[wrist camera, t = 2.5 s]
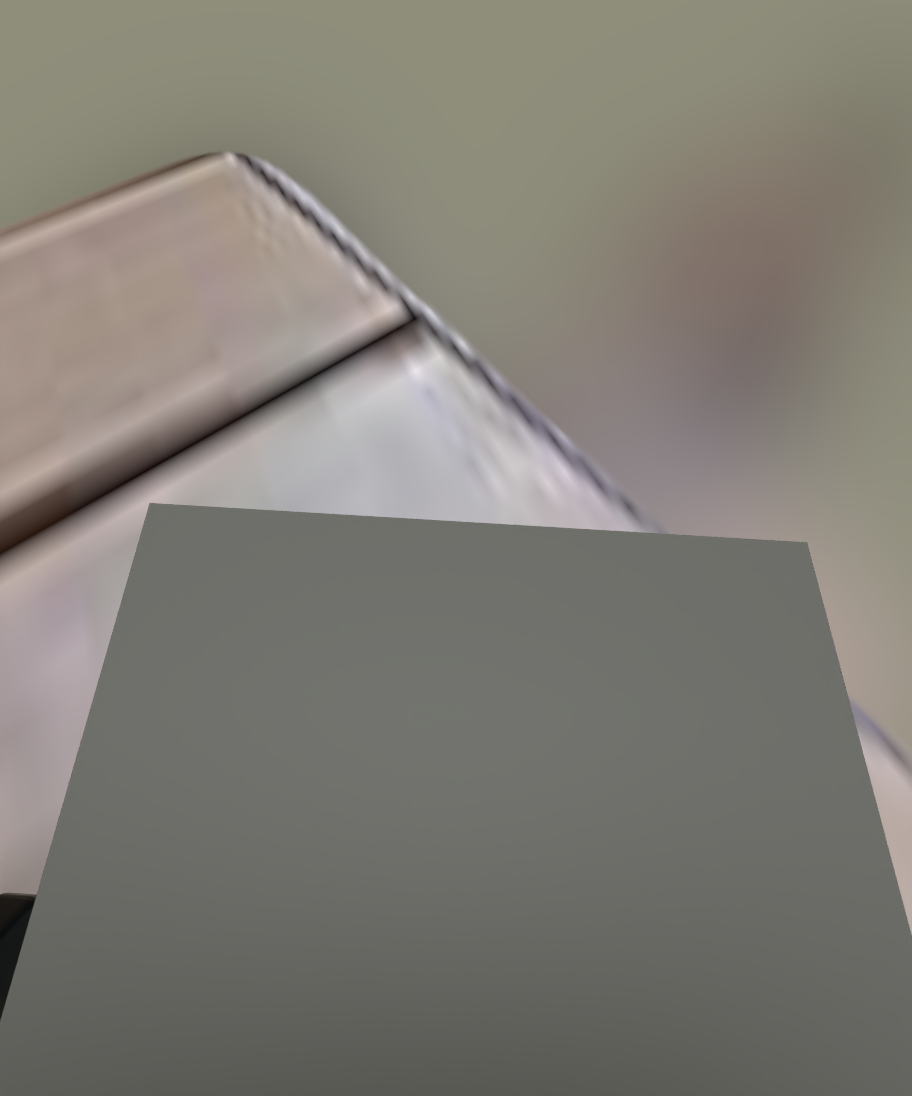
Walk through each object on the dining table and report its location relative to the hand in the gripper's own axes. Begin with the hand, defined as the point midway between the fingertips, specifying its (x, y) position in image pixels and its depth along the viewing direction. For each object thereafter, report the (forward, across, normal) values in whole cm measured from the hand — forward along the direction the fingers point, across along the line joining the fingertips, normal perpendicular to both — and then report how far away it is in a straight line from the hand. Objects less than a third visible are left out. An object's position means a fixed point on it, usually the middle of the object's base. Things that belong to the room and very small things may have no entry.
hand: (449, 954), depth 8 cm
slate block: (+7, 0, +5) cm, 9 cm away
